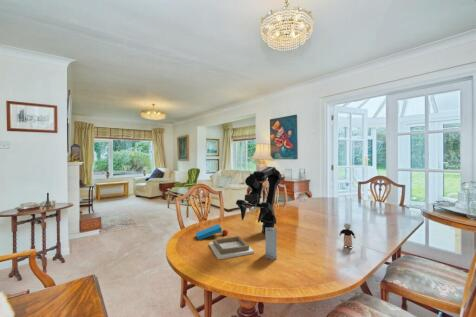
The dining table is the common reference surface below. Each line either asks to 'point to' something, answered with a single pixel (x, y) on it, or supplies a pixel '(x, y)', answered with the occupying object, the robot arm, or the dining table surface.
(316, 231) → the dining table surface
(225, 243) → the stand
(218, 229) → the lever
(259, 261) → the dining table surface
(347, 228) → the grandmother figurine
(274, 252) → the brushed metal pillar
